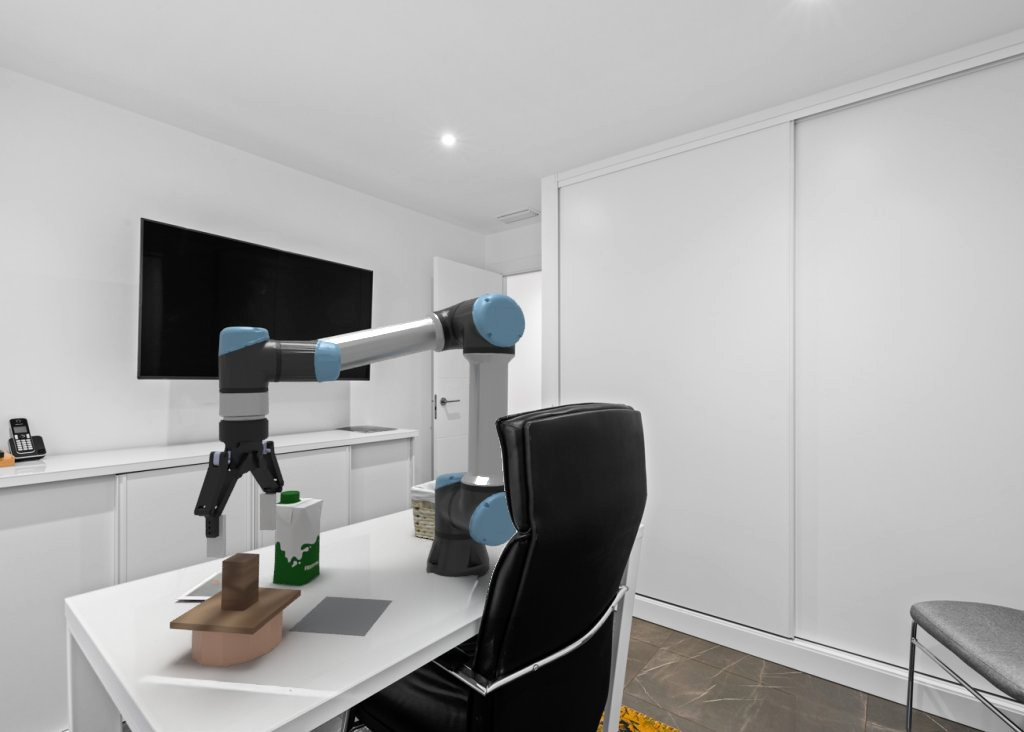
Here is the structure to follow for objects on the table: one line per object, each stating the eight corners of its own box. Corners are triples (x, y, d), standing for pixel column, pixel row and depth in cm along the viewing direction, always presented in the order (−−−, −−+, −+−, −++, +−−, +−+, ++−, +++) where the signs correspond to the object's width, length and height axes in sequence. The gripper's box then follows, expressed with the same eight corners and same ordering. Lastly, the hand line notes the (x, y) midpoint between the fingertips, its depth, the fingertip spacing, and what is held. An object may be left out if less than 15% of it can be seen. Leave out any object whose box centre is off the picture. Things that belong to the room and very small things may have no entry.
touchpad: (175, 604, 102) (175, 594, 102) (218, 575, 117) (218, 566, 117) (214, 605, 102) (214, 594, 102) (251, 575, 117) (251, 566, 117)
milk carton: (291, 573, 117) (293, 487, 118) (326, 576, 115) (327, 489, 116) (265, 588, 109) (267, 496, 109) (303, 592, 107) (304, 498, 107)
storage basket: (453, 547, 137) (454, 492, 137) (406, 537, 144) (407, 486, 145) (496, 524, 158) (496, 477, 159) (453, 517, 166) (453, 472, 166)
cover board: (300, 595, 91) (301, 545, 91) (252, 634, 77) (254, 575, 77) (229, 591, 93) (230, 542, 93) (169, 628, 79) (171, 571, 79)
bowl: (297, 631, 91) (297, 596, 91) (250, 675, 77) (251, 633, 78) (229, 627, 92) (229, 592, 92) (172, 668, 79) (173, 627, 79)
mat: (392, 605, 101) (392, 600, 101) (364, 641, 87) (364, 635, 87) (326, 601, 103) (326, 596, 103) (288, 636, 89) (288, 630, 89)
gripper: (267, 411, 98) (267, 519, 98) (165, 425, 74) (165, 570, 73) (303, 411, 98) (303, 520, 97) (213, 425, 73) (213, 571, 72)
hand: (244, 542), depth 85 cm, fingers open, 13 cm apart
